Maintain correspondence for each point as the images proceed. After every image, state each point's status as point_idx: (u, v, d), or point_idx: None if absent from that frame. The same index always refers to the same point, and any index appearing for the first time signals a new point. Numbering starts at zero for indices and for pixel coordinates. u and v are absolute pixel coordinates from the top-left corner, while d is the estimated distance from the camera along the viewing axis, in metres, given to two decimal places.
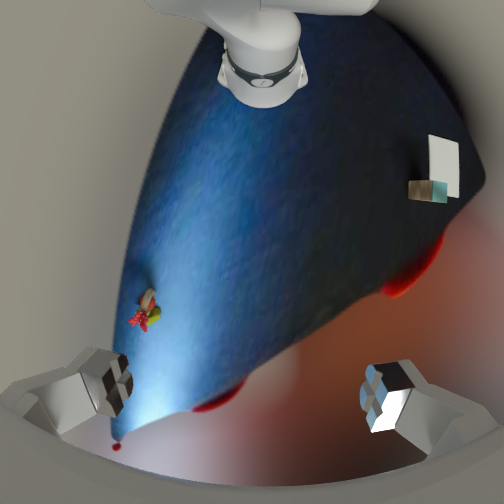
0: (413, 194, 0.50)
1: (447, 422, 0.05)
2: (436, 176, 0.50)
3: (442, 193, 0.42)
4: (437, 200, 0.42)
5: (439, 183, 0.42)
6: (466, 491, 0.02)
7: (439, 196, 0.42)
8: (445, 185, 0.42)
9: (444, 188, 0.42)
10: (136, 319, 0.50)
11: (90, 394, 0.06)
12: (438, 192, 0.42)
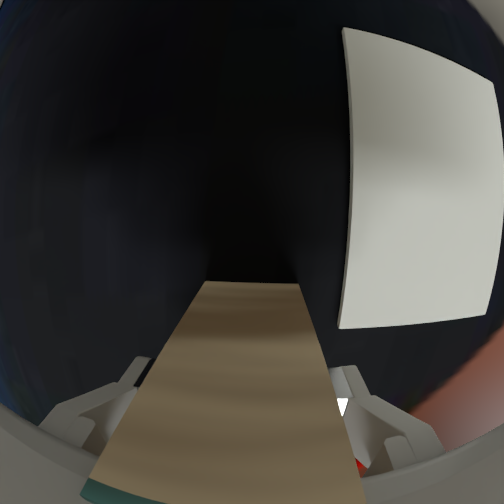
0: None
1: (386, 439, 0.05)
2: (393, 240, 0.10)
3: None
4: None
5: None
6: (466, 491, 0.02)
7: None
8: None
9: None
10: None
11: None
12: None
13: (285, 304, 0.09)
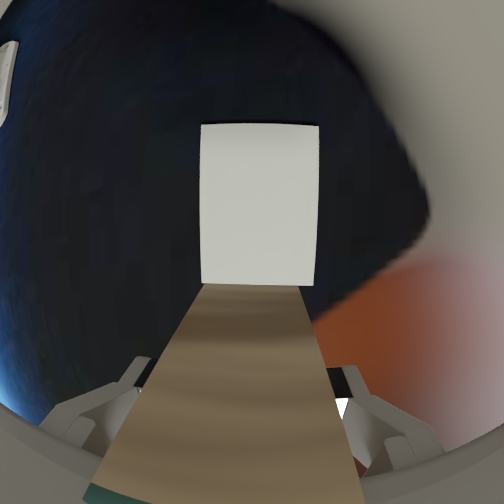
0: None
1: (386, 439, 0.05)
2: (223, 238, 0.23)
3: None
4: None
5: None
6: (466, 491, 0.02)
7: None
8: None
9: None
10: None
11: None
12: None
13: (284, 307, 0.09)
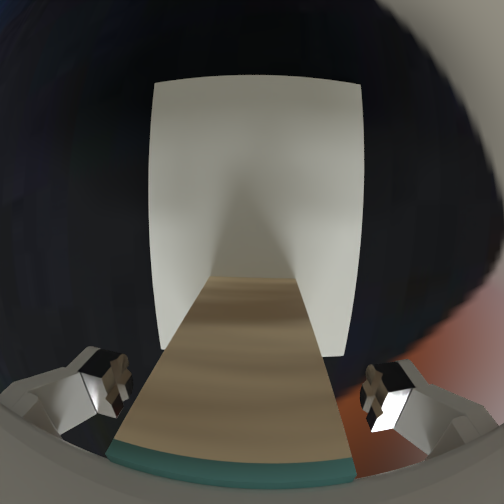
0: None
1: (447, 421, 0.05)
2: (191, 281, 0.13)
3: None
4: None
5: None
6: (466, 491, 0.02)
7: None
8: None
9: None
10: None
11: (90, 394, 0.06)
12: None
13: (283, 296, 0.10)
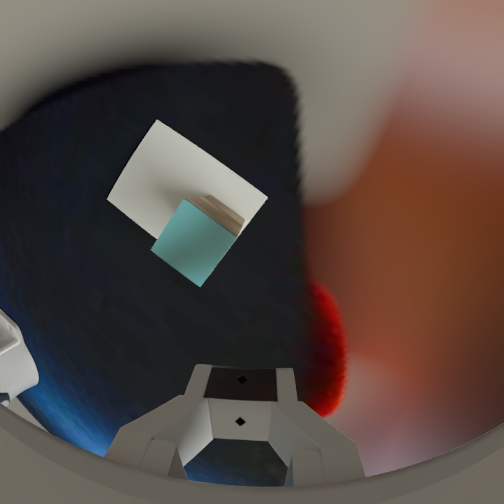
0: None
1: None
2: None
3: (200, 237, 0.16)
4: (207, 269, 0.17)
5: (169, 231, 0.16)
6: (466, 491, 0.02)
7: (202, 254, 0.17)
8: (186, 211, 0.16)
9: (191, 220, 0.16)
10: None
11: (213, 420, 0.06)
12: (190, 251, 0.17)
13: None
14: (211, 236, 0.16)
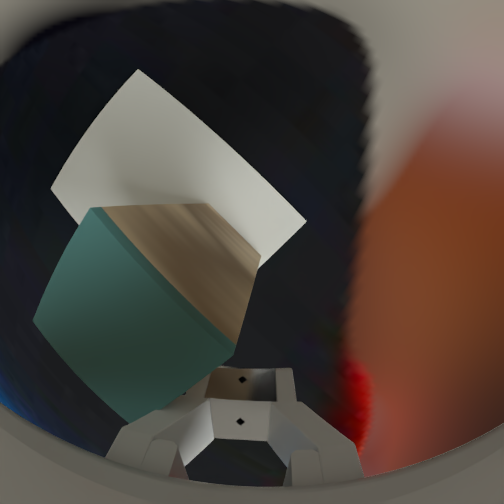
0: None
1: (304, 450, 0.05)
2: None
3: (128, 331, 0.05)
4: (148, 404, 0.05)
5: (58, 292, 0.05)
6: (466, 491, 0.02)
7: (134, 372, 0.05)
8: (92, 247, 0.05)
9: (104, 278, 0.05)
10: None
11: (214, 420, 0.06)
12: (104, 355, 0.05)
13: None
14: (156, 335, 0.05)
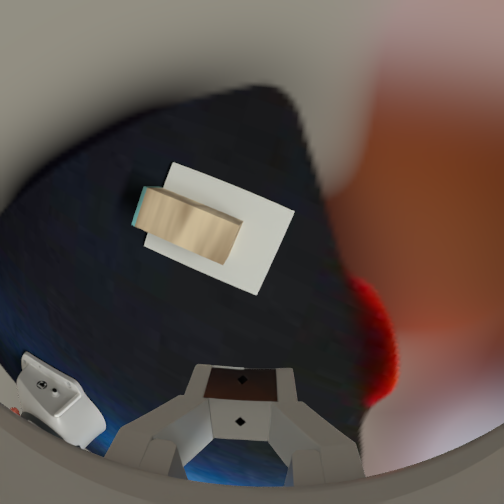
0: None
1: None
2: (228, 264, 0.29)
3: None
4: (136, 212, 0.25)
5: None
6: (466, 491, 0.02)
7: None
8: None
9: None
10: None
11: (213, 420, 0.06)
12: None
13: None
14: None
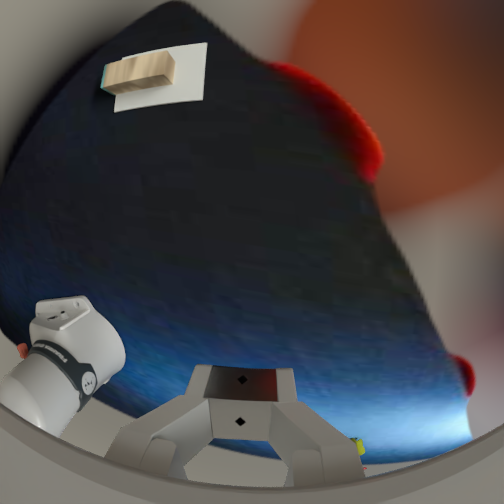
0: (150, 79, 0.29)
1: None
2: (174, 89, 0.32)
3: None
4: (102, 81, 0.28)
5: None
6: (466, 491, 0.02)
7: None
8: None
9: None
10: None
11: (213, 419, 0.06)
12: None
13: None
14: None
